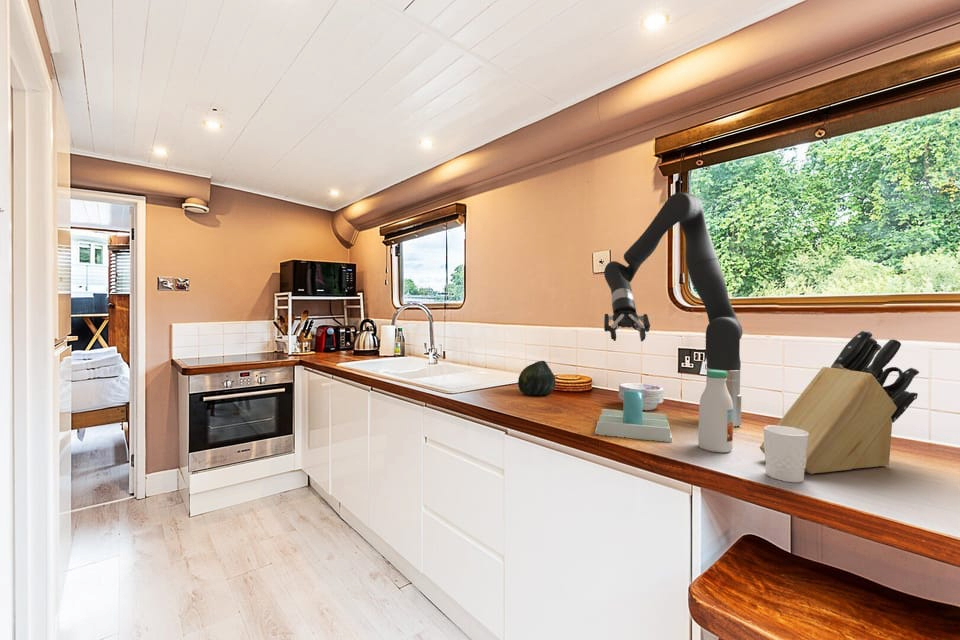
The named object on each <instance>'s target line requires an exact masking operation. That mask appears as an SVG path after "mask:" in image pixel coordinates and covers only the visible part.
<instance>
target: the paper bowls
mask: <svg viewBox="0 0 960 640" xmlns="http://www.w3.org/2000/svg"><path fill="white" fill-rule="evenodd" d="M624 390H640V391H643V411H653V410H656V408H657V406H658V405H659V404H662V403H664V388H663V386H659V385H654V384H649V383H639V382H636V383H635V382H634V383H633V382H630V383H629V382H627V383H626V382H625V383H621V384H620V383H619V385H618V398H619V399H620V400H622V401H623V394H624Z"/></svg>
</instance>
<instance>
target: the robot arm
mask: <svg viewBox="0 0 960 640" xmlns="http://www.w3.org/2000/svg"><path fill="white" fill-rule="evenodd" d="M706 221H707V220H706V217H705V211H704V207H703V202H702V201H701V200H700V198H699V197H698V196H696V195H695V194H693V193H686V192H675V193H674V194H672V195H671V196H669V197H668V199H667V200H666V201H665V203H663V205H662V207H660V209H659V211H658V213H657V214H656V215H655V217H654V218H653V219H652V221H651V223H650V224H649V225H648V226H647V228H646V229H645V230H644V232H643V233H642V234H641V235H640V237H638V239H637V240H636V241H634V242H633V244H632V245H631V246H630V247H629V248H628V249H627V250H626V251H625V252H624V254H623V260H624V261H625V262H626V264H628V265H627V266H626V265H624V264H623V263H621V262H619V261H615V260H614V261H613V260H612V261H609V262H608V263H607V264H606V265H605V267H604V271H603V272H604V273H603V275H604V279H605V281H606V283H607V286H608V287H609V288H610V292H611V293H610V294H611V308H612V315H609V314H608V313H605V314H604V319H603V327H604V332H605V333H606V332H609V333H610V339H611V340H612V341H613V342H616V341H617V331H618V330H619V328H632V329H633V330H635V331H637V332H638V333H639V339H640V342H644V340H646V337H647V335H646V332H647V333H650V328H651V323H650V321H649V316H648V314H647V313H643V315H638V312H637V308H636V302H635V297H634V294H633V290H632V285H631V283H632V281H633V280H634V277H635V276H636V274H637V272H638V270H639V268H640V266H642V264H643V263H644V262H646V261H647V260H648V258H649V257H650V256H651V255H652V254H653V253H654V252H655V250H656V248H657V247H658V245H659V243H660V241H661V240H662V238H663V236H664V235H665V234H666V233H667V232H668V230H670V229H671V228H672V227H674V226H675V225H676V224H678V223H679V225H680V226H681V229H682V232H683V235H684V238H685V265H686V269H687V272H688V275H689V278H690V280H691V283H692V285H693V287H694V289H695V291H696V293H697V294H698V296H699V299H700V300H701V302H702V303H703V305H704V308H705V312H706V315H707V319H708V324H707V326H706V331H705V359H706V360H705V361H706V371H707V370H722V371H726V372H727V380H726V386H727V389H728V392H729V394H730V396H731V399H732V402H733V428H734V427H735V426H736V427H737V426H739V427H740V426H742V425H741V424H742V423H741V422H742V395H741V357H740V355H741V353H740V350H741V349H740V347H741V346H740V345H741V344H740V343H741V342H740V341H741V339H742V336H743V327H742V325H741V322H739V319H738V316H737V314H736V313H735V311H734V308H733V305H732V304H731V301H730V297H729V294H728V289H727V284H726V281H725V278H724V277H725V276H724V272H723V269H722V266H721V263H720V260H719V258H718V254H717V252H716V249H715V247H714V244H713V240H712V238H711V236H710V233H709V230H708V226H707V222H706ZM611 321H613V323H612V324H611V325H609V324H610V322H611ZM707 381H708V380H707V376H706V384H705V385H707ZM740 428H741V427H740Z"/></svg>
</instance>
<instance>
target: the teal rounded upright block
mask: <svg viewBox="0 0 960 640" xmlns="http://www.w3.org/2000/svg"><path fill="white" fill-rule="evenodd" d="M622 401H623V403H622V404H623V405H622V407H623V408H622V409H623V410H622V411H623V424H634V425H642V416H643V412H644V410H643V391H640V390H624V394H623V400H622Z"/></svg>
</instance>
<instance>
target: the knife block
mask: <svg viewBox="0 0 960 640" xmlns="http://www.w3.org/2000/svg"><path fill="white" fill-rule="evenodd" d="M901 347H902V343H901V342H900V341H899V340H897V339H889V340H888V341H887V342H886V343H885V344H884V345H883V346H881V345H880V344H879V343H878V341H877V339H875V338H873V334H872V332H870V331H869V330H865V329H864V330H862V331H860V332H859V333H857V334H856V335H854V336H853V337H852V338H851V339H850V340H849V341H848V342H847V344H845V346H844V347H843V349H842V350H841V351H840V352H839V354H838V356H837V357H836V358H835V360H834V362H833V363H832V365H831V366H830V367H828V366H822V367H821V369H820V370H819V371H818V372H817V373H816V374H815V376H814V377H813V379H812V380H811V381H810V382H809V384H808V385H807V386H806V387H805V389H803V391H802V392H801V393H800V395H799V396H798V398H796V400H795V401H794V402H793V403H792V405H791V406H790V407H789V408H788V410H787V411H786V413H785V414H784V415H783V416H782V417H781V419H780V420H779V422H778V423H777V424H776V426H786V427H793V428H797V429H801V430H804V431H806V432H808V433H809V438H808V449H807V461H806V468H805V471H804V473H807V474H812V475H813V474H820V473H821V474H822V473H830V472H838V471H839V472H842V471H848V470H853V469H862V468H863V469H864V468H866V469H867V468H875V467H876V468H877V467H879V466H882V467H883V466H890V465H889V464H890V459H891V458H890V455H891V441H892V430H893V429H892V428H893V423H895V422H896V421H897V420H898V419H899V418H900V417H901V416H902V415H903V414H904V413H905V411H907V409H909V407H910V405H912V403H913V402H914V401H915V400H917V398H918V395H919V393H918V392H910V391H907V389H908V387H910V384H911V383H912V382H913V380H914V378H915V376H917V375H918V374H920V371H919V370H918V369H917V368H914V367H909V368H908V369H906V370H905V371H903V370H902V369H901V368H899V367H896V366H890V367H886V366H887V365H888V364H889V363H890V362H891V361H892V360H893V358H894V357H895V356H896V354H897V353H898V352H899V350H900V348H901ZM885 367H886V369H884V368H885ZM883 369H884V370H883ZM892 372H898V377H897V378H896V380H895V381H894V382H893V383H891V384H888V385H885V383H886V381H887V378H888V376H889V375H890V373H892ZM884 385H885V386H884ZM759 449H760V450H761V452H762V454H764V455H765V450H764V441H763V443H761V445H760V446H759Z"/></svg>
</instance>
